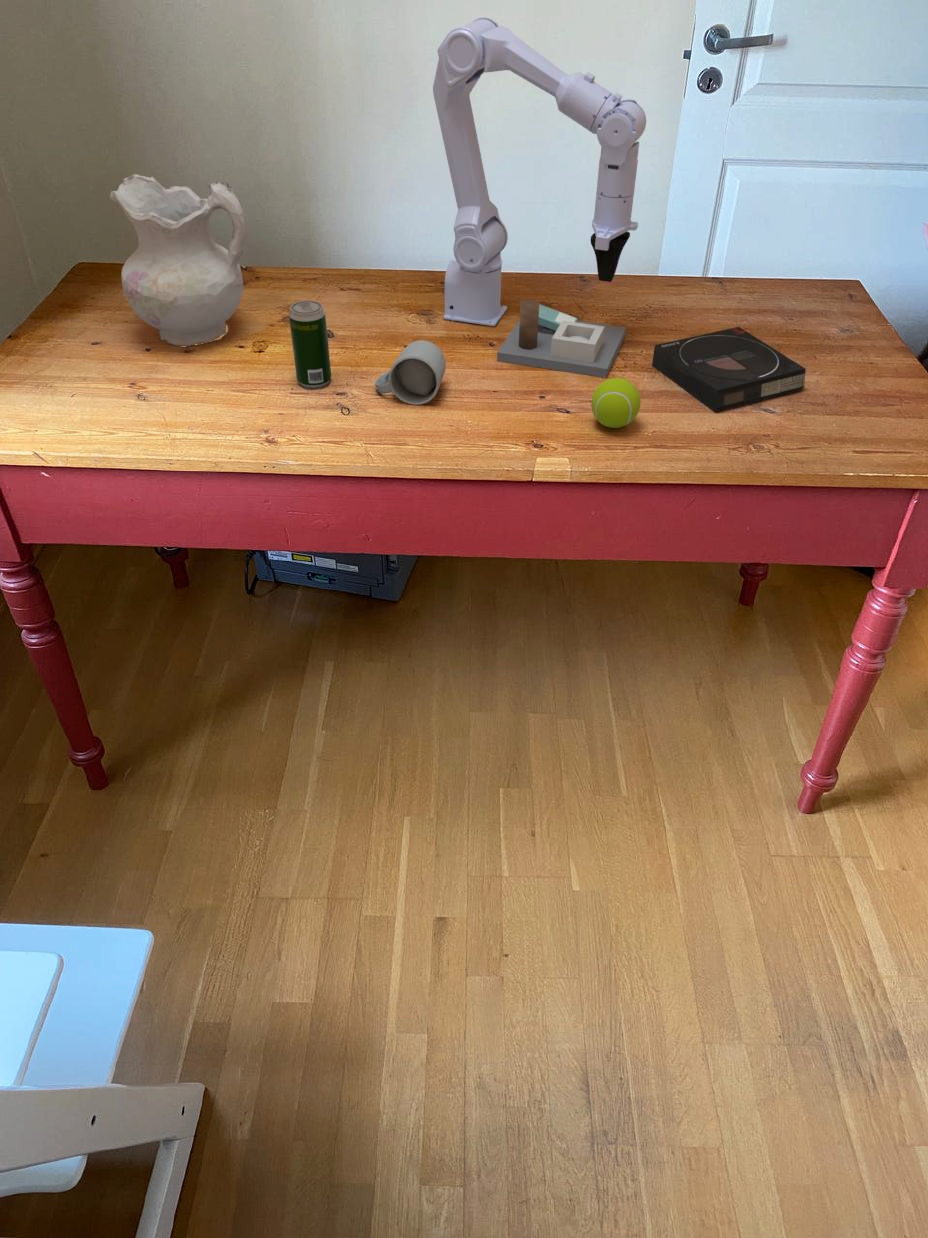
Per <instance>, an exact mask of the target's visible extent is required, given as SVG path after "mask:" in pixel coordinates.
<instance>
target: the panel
mask: <svg viewBox="0 0 928 1238" xmlns="http://www.w3.org/2000/svg"><path fill="white" fill-rule="evenodd" d="M519 326H520V318H519V320H518V321H517V323H516V324H515V325H514V327H513V328H512V330H511V331H510V333H509V334H508V336H507V337H506V339H505V340H504V341H503V343H502V344H501V346H500V348H498V350H497V352H496V362H503V363H507V364H515V365H520V366H527V367H532V368H533V367H535V368H541V369H548V370H553V371H559V372H567V373H573V374H580V375H585V376H591V377H592V376H593V377H598V378H603V379H604V378H605V379H606V378H607V376H608V374H609V372H610V369H611V368H612V366H613V364H614V361H615V359H616V357H617V355H618V353H619V351H620V348H621V347H622V344H623V341H624V340H625V338H626V333H627V327H625V326H617V325H612V324H611V325H610V324H605V323H604V324H603V323H595V322H590V321H583V320H582V321H581V320H577V323H576V322H569V321H562V322H561V324H560V325H559V327H558V329H557V331H555V330H553V329H550V328H547V327H544V326H542V325H539V324H538V336H537V347H536V348H534V349H530V350H527V349H522V348H520V347H519ZM572 336H581V337H585V338H587V339H588V340H584V339H577V338H570V337H572Z"/></svg>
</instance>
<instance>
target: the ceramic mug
mask: <svg viewBox="0 0 928 1238" xmlns="http://www.w3.org/2000/svg"><path fill="white" fill-rule="evenodd" d="M446 365H447V364H446V357H445V354H444V353H443V351H442V349H441V348H440V347H439V346H438V345H437V344H436V343H434V342H432V341H428V340H423V339H422V340H420V339H419V340H416V341H413V342H410V343H409V344H408V345H406V347H404V348H403V349H402V350H401V352H400V354H399V356H397V358H396V360H395V361H394V363H393V364H392V366H391V368H390V370H388V371H386V372H384V373H383V374H381V375H380V376H379V377H378V378H377V379H376V380H375V382H374V386H375V388H376V390H377V392H378V393H379V394H390V393H393V394H394V396H395V397H396V398H397V399H398V400H400V401H401V402H403V403H406V404H409V405H413V406H414V405H415V406H419V405H424V404H426V403H429V402H430V401H432V399H434V397H435V396H436V395H437V393H438V391H439V390H440V389H439V388H440V387H441V386H440V385H441V383H442V381H443V378H444V376H445V374H446V373H445V372H446Z"/></svg>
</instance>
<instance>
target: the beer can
mask: <svg viewBox="0 0 928 1238" xmlns="http://www.w3.org/2000/svg"><path fill="white" fill-rule="evenodd" d="M288 319H289V327H290V336H291V343H292V353H293V360H294V368H295V376H296V381H297V383H299V385H300V387H302V386H303V387H302V388H304V387H305V389H309V390H312V389H314V390H316V389H321V388H324V387H326V386H328V385H329V383H330V382H331V379H332V370H331V359H330V347H329V338H328V337H329V336H328V328H327V327H328V326H327V315H326V311H325V310H324V305H323V304H322V303H321V302H319V301H316V300H302V301H297V302H294V303H292V304H291V305H290V306H289V313H288Z"/></svg>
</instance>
